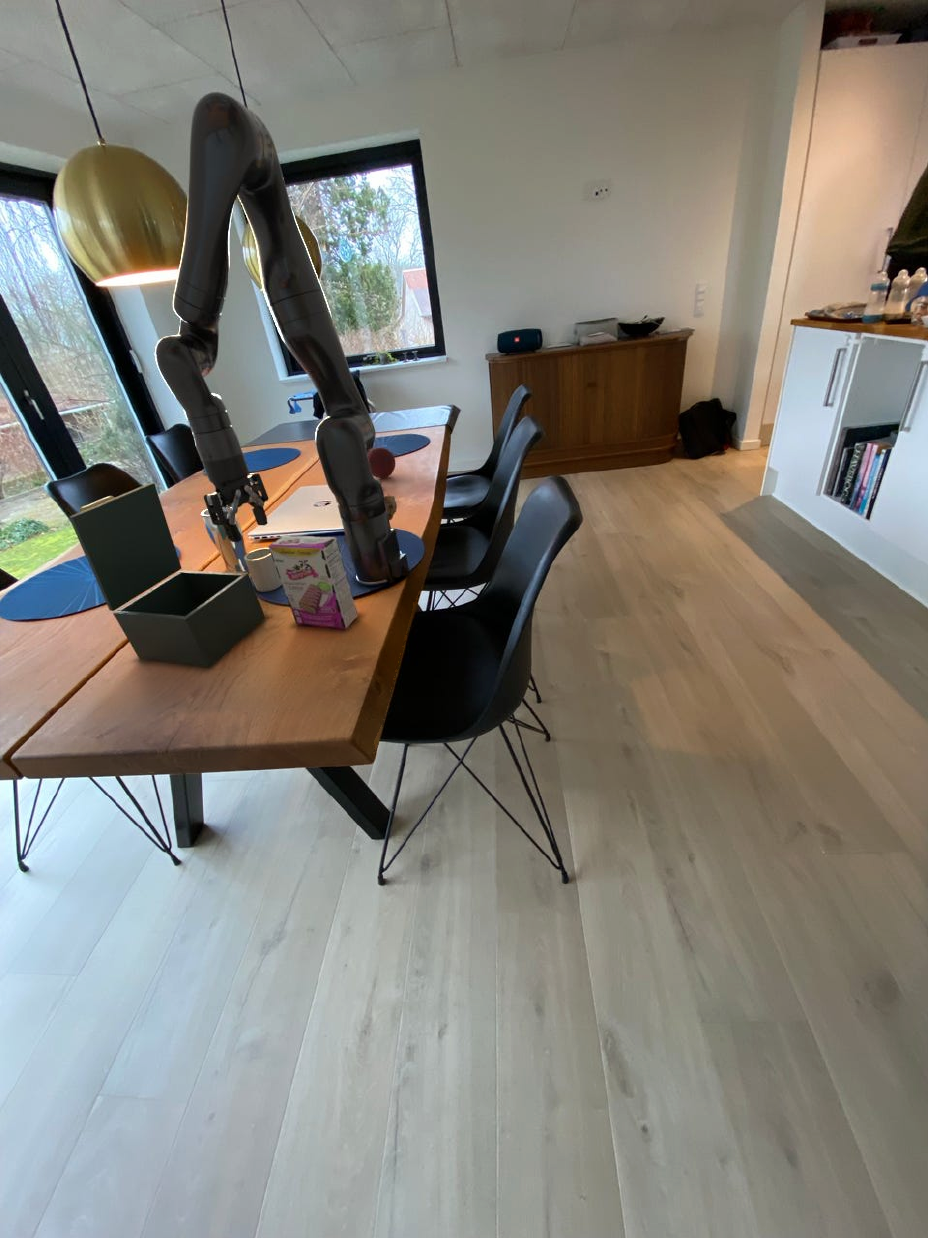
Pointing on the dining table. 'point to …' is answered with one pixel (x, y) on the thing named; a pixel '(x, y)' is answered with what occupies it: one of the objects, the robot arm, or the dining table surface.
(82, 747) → the dining table surface
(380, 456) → the decorative ball
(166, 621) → the open lidded box
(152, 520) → the lid
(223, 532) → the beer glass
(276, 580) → the cup
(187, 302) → the robot arm
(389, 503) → the lion figurine
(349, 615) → the candy bar box
